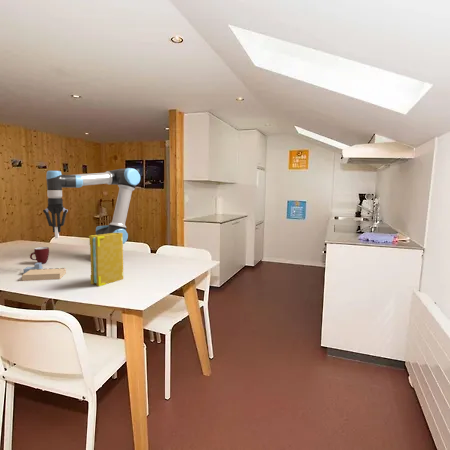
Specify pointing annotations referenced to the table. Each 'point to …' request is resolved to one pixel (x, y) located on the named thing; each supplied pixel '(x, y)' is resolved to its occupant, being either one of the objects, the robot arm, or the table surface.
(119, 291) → the table surface
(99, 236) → the book
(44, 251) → the mug
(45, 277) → the board
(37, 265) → the stub
